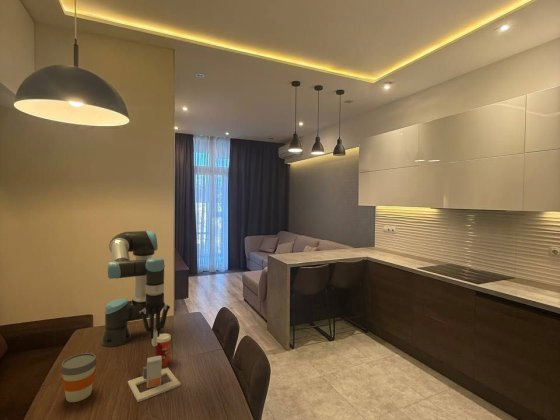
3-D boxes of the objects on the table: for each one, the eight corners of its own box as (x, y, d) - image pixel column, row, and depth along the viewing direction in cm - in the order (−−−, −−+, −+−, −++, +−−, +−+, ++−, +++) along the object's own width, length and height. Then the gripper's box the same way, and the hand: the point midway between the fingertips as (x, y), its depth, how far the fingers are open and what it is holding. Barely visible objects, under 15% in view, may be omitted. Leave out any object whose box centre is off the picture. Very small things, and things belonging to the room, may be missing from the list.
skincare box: (146, 389, 131) (147, 362, 131) (146, 383, 135) (146, 357, 135) (161, 385, 134) (161, 359, 134) (160, 380, 138) (161, 354, 138)
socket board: (127, 383, 135) (127, 371, 135) (167, 369, 147) (167, 358, 146) (137, 402, 123) (137, 389, 123) (180, 385, 134) (180, 373, 134)
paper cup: (165, 368, 147) (165, 340, 147) (151, 366, 149) (151, 338, 148) (173, 360, 155) (174, 333, 154) (160, 358, 157) (160, 332, 156)
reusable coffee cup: (91, 402, 122) (91, 366, 122) (55, 407, 119) (55, 370, 118) (100, 383, 134) (100, 351, 134) (67, 388, 131) (67, 354, 130)
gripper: (141, 298, 126) (141, 352, 127) (172, 292, 134) (172, 343, 135) (136, 293, 132) (136, 345, 133) (166, 288, 140) (166, 337, 141)
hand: (154, 344), depth 134 cm, fingers closed
